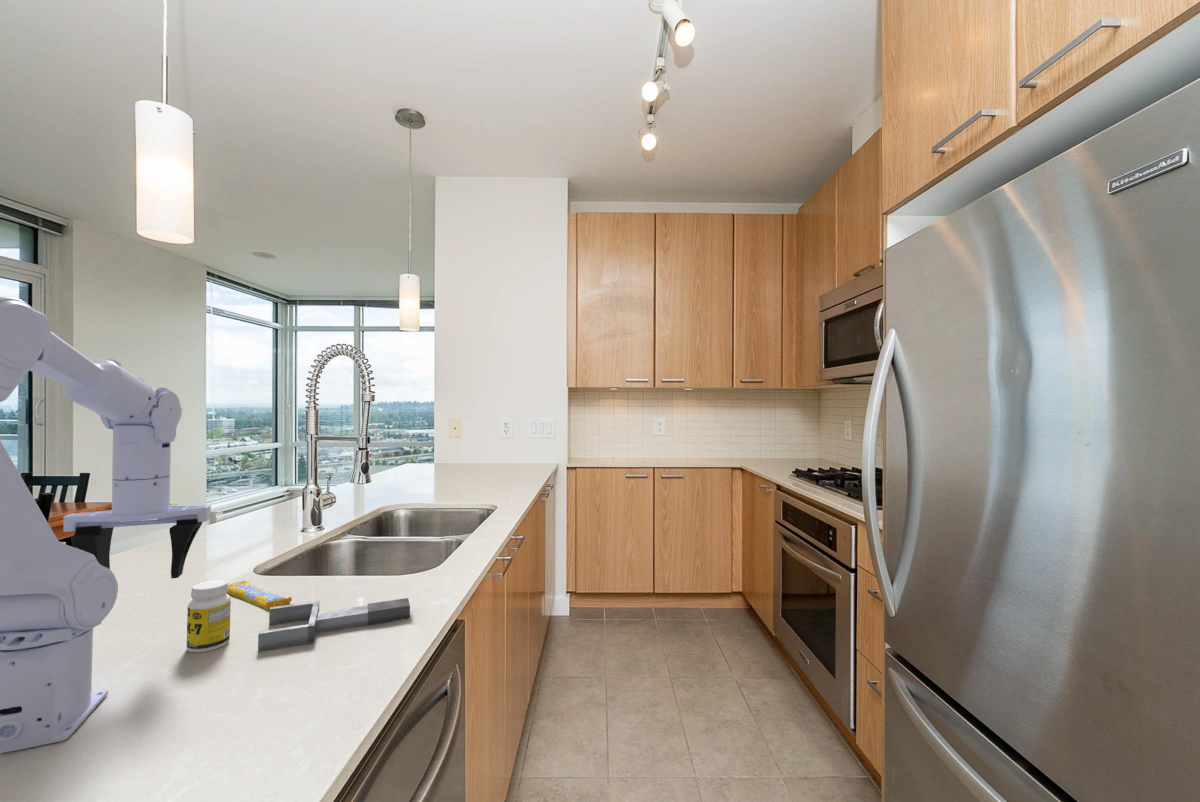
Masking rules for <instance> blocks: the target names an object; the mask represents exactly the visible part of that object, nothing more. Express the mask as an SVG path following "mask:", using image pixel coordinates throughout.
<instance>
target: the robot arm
mask: <svg viewBox="0 0 1200 802" xmlns="http://www.w3.org/2000/svg"><path fill="white" fill-rule="evenodd" d="M29 371H30V372H32V373H35V374H37V375H39V376H41V377H44V378H46V379H48V380H51V381H53V382H56V383H58V384H60V385H62V391H63V394H64V396H66V398H67V399H69V400H70V401H71V402H73V403H76V404H78V406H79V405H80V406H82V407H83V408H86V409H89V410H90V411H92V412H95V414H97V415H98V416H99V417H100V420H101V423H102V424H103V425H104V427H105V428H107V429H108V430H112V465H111V467H112V474H111V475H112V477H111V509H109V510H108V509H107V510H100V511H87V512H76V513H75V512H74V513H70V514H67V515H65V516H63V526H62V527H63V533H67V532H74V534H73V535H72V536H70V540H71V541H70V542H71V544H72V546H71V545H68V544H66V543H63V542H61V541H60V540H59V539H58V537H57V536H56V534H55V533H54V531H53V529H52V528H51V526H50V524H49V522H48V521H47V519H46V517H45V516H44V514H43V512H42V510H41V508H40V507H39V505H38V504H37V502H36V499H35V498H34V496H33V494H32V492H31V491H30V490H29V487H28V486H27V484H26V483H25V480H24V479H23V477H22V476H21V474H20V472H19V470H18V468H17V467H16V465H15V464H14V462H13V459H12V458H11V456H10V454H9V453H8V451H7V449H6V448H5V446H4V445H3V442H2V441H1V440H0V754H3V753H4V752H5V753H8V752H9V753H10V752H13V751H19V750H24V749H29V748H34V747H39V746H44V745H48V744H54V743H59V742H63V741H65V740H67V739H69V738H70V737H71V735H72V734H73V733H74V732H75V731H76V730H77V729H78V728H79V727H80V726H81V724H82V723H83V722H84V721H85V720H86V719H87V718H88V716H89V715H90V714H91V713H92V712H93V711H94V710H95V708H97V706H98V705H99V704H100V703H101V702H102V701H103V699H104V698H106V696H107V695H108V694H109V689H108V688H106V689H105V688H103V689H98V690H93V691H92V686H93V685H92V679H93V678H92V677H93V649H94V648H93V647H94V645H93V643H94V628H96V627H97V626H99V625H101V624H102V623H103V621H104V620H105V619H106V617H107V616H108V615H109V614H110V613H111V611H112V609H113V607H114V605H115V603H116V601H117V599H118V592H119V585H118V584H119V583H118V580H117V577H116V576H115V573H114V572H113V571H112V570H111V566H110V564H111V563H110V561H111V560H110V553H111V545H112V539H113V533H114V528H121V527H137V526H149V525H161V524H174V525H172V526H171V527H170V528H169V536H170V543H171V567H170V577H171V579H178V578H180V577H181V576H182V574H183V571H184V565H185V562H186V559H187V556H188V553H189V550H190V548H191V546H192V544H193V541H194V539H195V538H196V535H197V533H198V532H199V530H200V528H201V527H202V525H203V523H205V522H208V521H209V520H211V517H212V516H211V513H212V512H211V510H212V509H211V507H212V506H211V504H207V505H205V504H203V505H171V502H170V501H171V496H170V495H171V451H172V448H171V447H172V444H171V443H172V442H175V440H176V439H175V438H176V437H177V428H178V424H179V423H180V421H181V417H182V414H183V413H182V411H183V407H181V406H182V405H181V401H180V398H179V396H178V395H177V393H175V392H173V391H172V390H170V389H168V388H167V387H159V386H158V387H156V386H155V387H153V386H152V385H150V384H148V383H147V382H145V380H144V379H143V378H141V376H136V375H134V374H133V373H131V372H130V371H128V370H126V369H125V368H123V367H122V363H121V362H120V361H119V360H116V359H115V358H114V359H113V358H92V359H90V358H88V357H87V356H86V355H84V354H82V353H81V352H80V351H79V350H77V349H76V348H74V347H73V346H72V345H71V344H69V343H67V342H66V341H65V340H64V339H62V338H61V337H59V336H58V335H57V334H55V333H54V332H52V330H51V325H50V321H49V319H48V316H47V315H46V314H44V313H43V312H40V311H38V310H35V309H34V308H33V307H32V306H31V304H28V303H27V302H26V301H23V300H22V299H19V298H15V297H11V296H0V403H2V402H4V401H6V400H7V399H8V398H9V397H10V395H11V394H12V393H13V392H14V391H15V390H16V388H17V387H18V386H19V385H20V383H21V382H22V381H23V379H24V378H25V376H26V375H27V374H28V373H29ZM73 545H74V546H75V547H74V546H73Z"/></svg>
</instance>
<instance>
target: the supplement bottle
mask: <svg viewBox="0 0 1200 802" xmlns="http://www.w3.org/2000/svg"><path fill="white" fill-rule="evenodd" d="M228 584H229V583H228V581H227V580H224V579H215V580H207V581H204V582H199V583H196V584H194V585H192V586H191V593H190V596H191V600H189V602H188V603H187V614H186V615H187V619H186V620H187V621H186V622H187V623H186V624H187V625H186V650H187V651H188V652H190V653H198V654H199V653H206V652H207V653H208V652H211V651H214V650H216V649H219V648H222V647H223V646H226V645H228V643H229V641H230V640H231V639H230V637H231V603H232V602H231V596H230V594H228V593H227V592H228Z"/></svg>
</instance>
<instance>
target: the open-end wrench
mask: <svg viewBox="0 0 1200 802" xmlns="http://www.w3.org/2000/svg"><path fill="white" fill-rule="evenodd" d="M268 611H269V616H268V619H269V620H268V621H269V623H268V626H274V625H278V624H279V625H281V624H286V623H295V622H301V621H307V620H308V624H302V625H301V624H300V625H295V626H287V627H281V628H274V629H269V630H267V629H266V630H263V631H262V630H261V631H259V632H258V634H257V635H258V637H257V638H258V639H257V640H258V641H257V652H258V653H259V652H266V651H272V650H278V649H284V648H290V647H296V646H302V645H307V644H308V645H309V644H315V639H316V635H317V633H325V632H329V631H337V630H344V629H348V628H350V629H351V628H354V627H356V628H357V627H361V626H370V625H371V626H372V625H377V624H382V623H383V624H385V623H390V622H395V621H396V622H397V621H401V620H402V619H404V620H409V619H408V618H410V619H411V604H410V601H409V598H408V597H407V598H406V597H405V598H399V599H393V600H385V601H377V602H370V603H367V605H360V606H355V607H349V608H340V609H333V610H328V611H326V610H325V611H321V612H320V600H317V601H316V600H315V601H308V602H302V603H294V604H293V603H292V604H287V605H284V606H277V607H270V609H269V610H268Z"/></svg>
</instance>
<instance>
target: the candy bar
mask: <svg viewBox="0 0 1200 802" xmlns="http://www.w3.org/2000/svg"><path fill="white" fill-rule="evenodd" d="M226 594H228V595H229V596H230V595H231V596H232V595H233V596H232V597H234V596H235V598H237V599H239V598H240V600H242V599H243V600H242V601H244V602H247V601H248V602H247V603H249V602H250V603H249V604H252V605H254V606H256V605H257V606H256V607H259V608H262V609H263V610H267V611H269V609H270V607H277V606H283V605H284V606H285V605H286V604H287V605H290V604H291V602H292V599H293V598H292V596H288V598H287V597H285V596H284V597H283V596H281V595H277V594H275V593H273V592H270V591H268V590H265V589H262V588H260V587H258V586H255V585H253V584H251V583H250V582H249V581H248V580H241V581H238V582H237V581H236V582H234V583H231V584H229V585H228V592H227V593H226Z"/></svg>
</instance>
